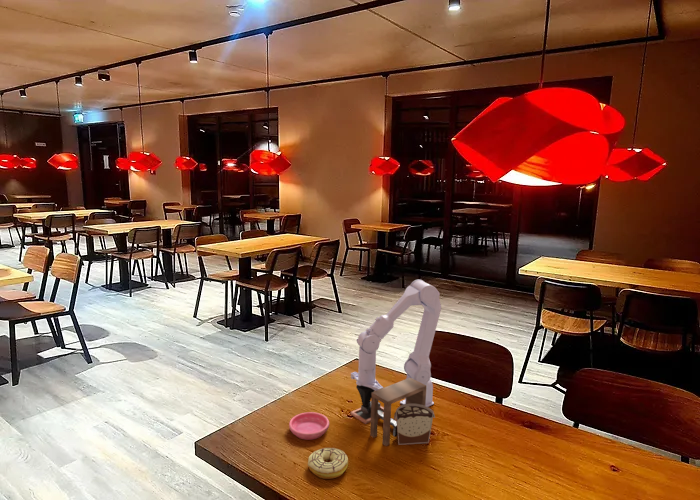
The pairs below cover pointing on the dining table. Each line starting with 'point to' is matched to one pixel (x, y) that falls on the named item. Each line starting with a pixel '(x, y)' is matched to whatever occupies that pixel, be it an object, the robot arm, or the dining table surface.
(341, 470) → the decorated donut
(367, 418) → the picture frame
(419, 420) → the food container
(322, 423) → the pink shallow round bowl
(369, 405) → the grey piece
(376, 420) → the tunnel
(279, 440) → the dining table surface
